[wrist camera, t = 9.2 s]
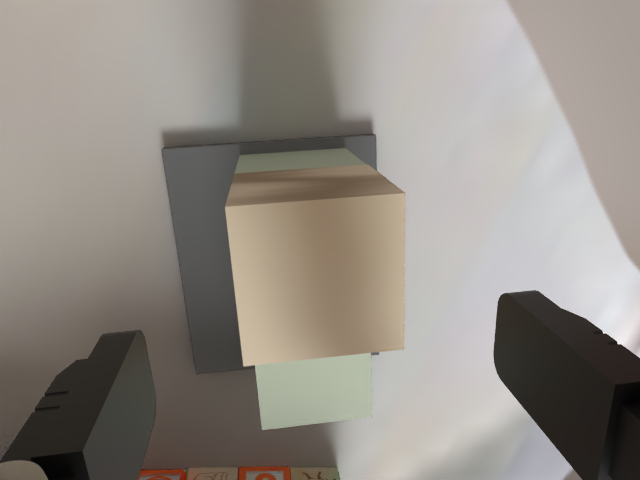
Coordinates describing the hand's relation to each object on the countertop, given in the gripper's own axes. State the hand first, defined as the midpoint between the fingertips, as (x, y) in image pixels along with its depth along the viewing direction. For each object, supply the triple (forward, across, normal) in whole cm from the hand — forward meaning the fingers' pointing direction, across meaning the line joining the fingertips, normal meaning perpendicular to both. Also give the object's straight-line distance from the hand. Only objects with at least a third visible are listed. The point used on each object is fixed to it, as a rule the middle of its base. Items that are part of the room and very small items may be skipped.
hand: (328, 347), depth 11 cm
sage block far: (+13, 0, +7) cm, 15 cm away
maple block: (+8, 0, 0) cm, 8 cm away
